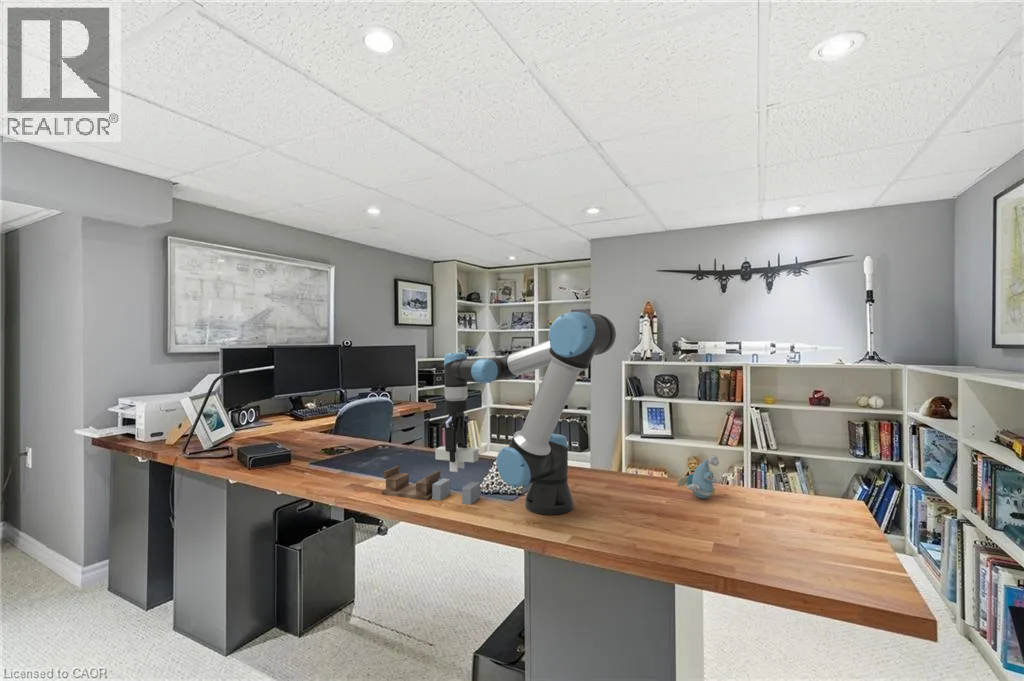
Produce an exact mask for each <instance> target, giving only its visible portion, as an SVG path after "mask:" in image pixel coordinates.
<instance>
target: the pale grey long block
mask: <svg viewBox="0 0 1024 681" xmlns="http://www.w3.org/2000/svg"><path fill="white" fill-rule="evenodd" d="M434 452H435V460H440V461H449V462H450V458H449V452H446V450H445V446H438V447H437V448H435V451H434ZM456 452H458V461H461V462H464V463H475V462H477V461H479V459H480V458H479V456H480V455H479V452H480V451H479V448H469V447H467V448H458V447H457V449H456Z"/></svg>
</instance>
